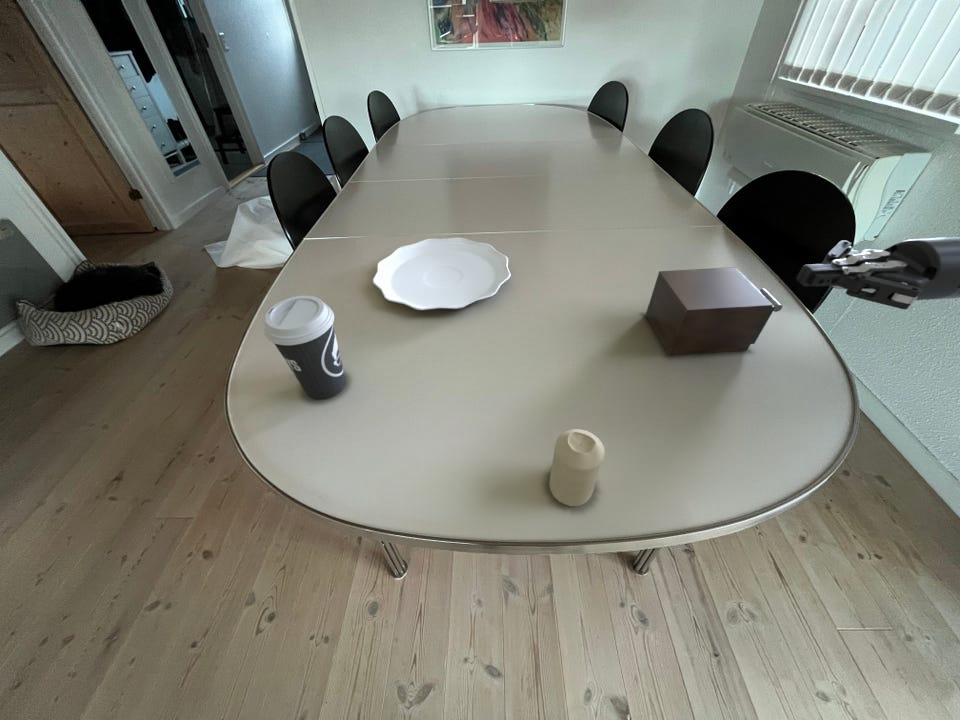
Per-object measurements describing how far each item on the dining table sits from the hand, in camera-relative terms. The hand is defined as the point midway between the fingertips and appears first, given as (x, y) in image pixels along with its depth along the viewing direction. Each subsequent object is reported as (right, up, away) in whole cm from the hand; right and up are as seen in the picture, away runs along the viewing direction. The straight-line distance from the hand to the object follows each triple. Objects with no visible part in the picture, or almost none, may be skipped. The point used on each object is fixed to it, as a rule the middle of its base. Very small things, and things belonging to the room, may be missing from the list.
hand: (802, 276), depth 50 cm
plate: (-48, +8, +40) cm, 63 cm away
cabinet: (-1, -5, +24) cm, 24 cm away
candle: (-28, -27, +2) cm, 39 cm away
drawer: (+3, -4, +23) cm, 24 cm away
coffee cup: (-66, -15, +17) cm, 69 cm away
